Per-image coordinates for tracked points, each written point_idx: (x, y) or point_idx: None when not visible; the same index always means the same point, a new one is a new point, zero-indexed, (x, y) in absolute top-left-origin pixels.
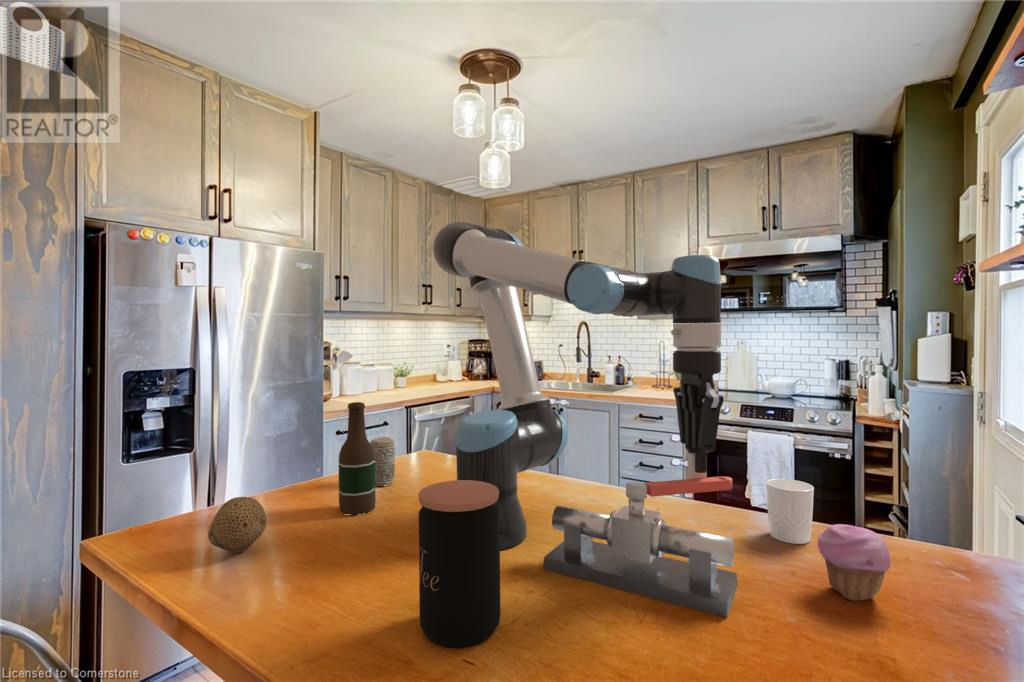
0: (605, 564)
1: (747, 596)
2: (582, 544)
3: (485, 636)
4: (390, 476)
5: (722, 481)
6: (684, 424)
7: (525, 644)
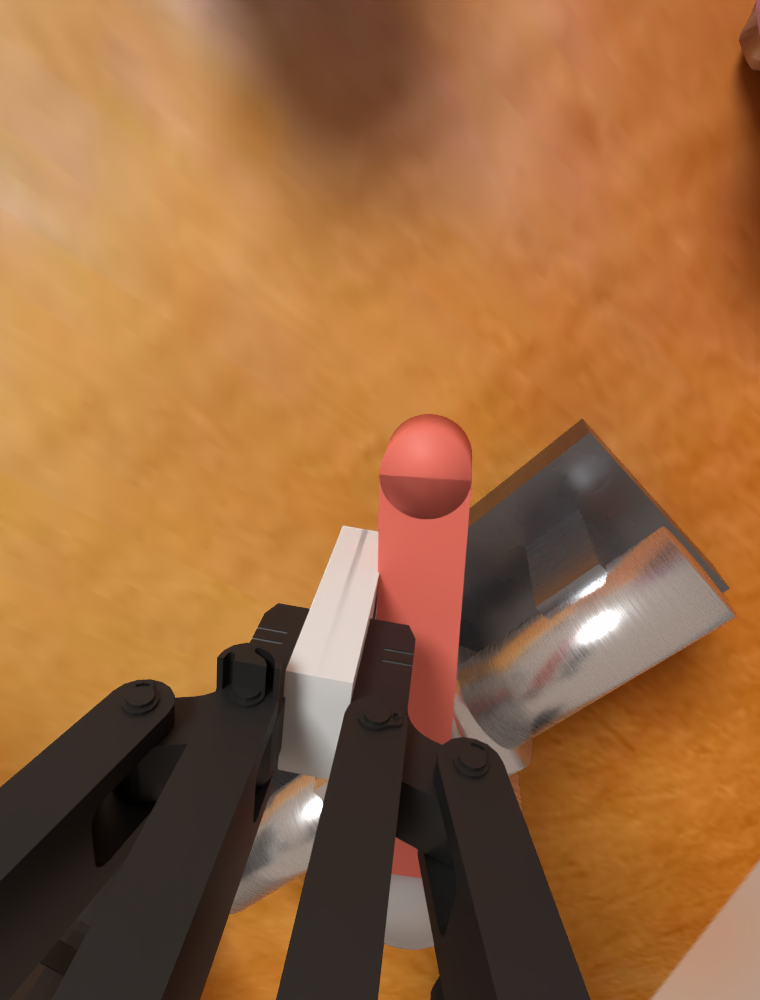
0: None
1: (648, 433)
2: None
3: None
4: None
5: (466, 525)
6: (61, 910)
7: (604, 935)
